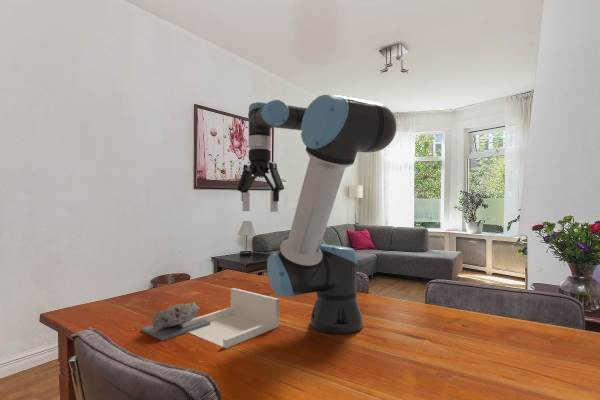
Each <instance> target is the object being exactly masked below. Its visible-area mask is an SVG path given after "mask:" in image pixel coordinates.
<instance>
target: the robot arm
mask: <svg viewBox="0 0 600 400" xmlns="http://www.w3.org/2000/svg"><path fill="white" fill-rule="evenodd" d="M247 115H248V116H247V117H248V149H249V150H248V160H249V162H250V164H243V167H242V173H241V176H240V179H239V182H238V185H237V188H236V190H237V191H238V192H240V193H241V202H242V205H241V206H242V207H241V208H242V212H250V211H251V210H250V205H251V204H250V199H251V198H250V191H249V190H250V189H251V187H252V185H253V183H254V182H255V180H256V179H257V178H260V177H262V178H264V180H265V181H266V182H267V184H268V186H269V188H270V190H271V191H270V198H269V199H270V200H269V201H270V203H269V205H270V206H269V207H270V208H269V209H270V210H269V211H270V212H271V213H273V212H274V213H277V212H278V211H279V210H278V209H279V208H278V206H279V205H278V204H279V201H280V191H282V190H284V189H285V186H284V184H283V182H282V179H281V176H280V173H279V171H278V166H277V162H273V161H271V156H272V155H271V150H270V149H271V137H272V136H271V134H272V133H271V131H272V129H273V128H274V129H275V128H276V129H285V130H291V131H295V130H296V131H301V132H300V137H301V141H302V143H303V145H305V152H306V154H307V156H308V157H309V160H308V164H307V168H306V171H305V175H304V180H303V182H302V186H301V190H300V194H299V198H298V201H297V205H296V209H295V213H294V215H293V220H292V224H291V226H290V231H289V234H288V238H287V239H284V240H283V241H282V242H281V244H280V246H279V249H278V252H274V253H271V254H270V255H268V258H267V263H266V266H267V267H266V270H267V276H268V280H269V284H270V287H271V289H272V291H273V292H274V294H276V296H279V297H282V298H283V297H295V296H301V295H308V294H313V293H316V298H315V303H314V304H313V305H314V306H313V309H312V311H311V314H310V325H311V327H312V328H313V329H314V330H317V331H319V332H323V333H327V334H336V335H341V334H342V335H343V334H345V335H346V334H352V333H355V332H358V331H360V330H361V329H362V328H363V327H364V326H363V324H364V323H363V316H362V313H361V308H360V306H359V301H358V299H357V297H358V296H357V293H358V292H357V291H358V290H357V285H358V284H357V270H358V269H357V266H358V260H357V252H356V250H355V249H354V248H352V247H346V246H342V245H341V246H340V245H335V244H333V245H332V244H325V243H324V244H323V243H322V242H323V238H324V237H325V233H326V229H327V225H328V223H329V220H330V217H331V214H332V211H333V207H334V204H335V201H336V198H337V195H338V192H339V189H340V186H341V182H342V179H343V176H344V173H345V170H346V168H348V167H350V166H353V165H354V163H355V160H356V157H357V155H358V153H375V152H379V151H383V150H385V148H387V147H389V145H390V144H392V142H393V141H394V138H395V136H396V133H397V121H396V117H395V115H394V113H393V112H392V111H391V109H389V108H388V107H387V106H386V105H383V104H381V103H380V102H376V101H368V100H365V99H358V98H353V97H347V96H344V95H339V94H322V95H319V96H317V97H315V99H314V100H312V101H311V102H310V103H309V105H308V106H307V107H301V106H296V105H289V104H286V103H285V102H283V100H281V99H273V100H271V101H268V102H266V103H265V102H253V103H251V104H249V105H248V113H247Z"/></svg>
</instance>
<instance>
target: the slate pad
mask: <svg viewBox="0 0 600 400" xmlns="http://www.w3.org/2000/svg"><path fill="white" fill-rule="evenodd" d="M197 317H198V316H196V315H195V316H194V317H192V318H189V319H188V320H190V319H193V318H197ZM185 321H187V320H185ZM152 325H153V324H151V325H147V326H144V327H141V332H142V333H144V334H145V333H146V335H150V336H152V337H153V338H156V339H158V340H159V341H165V340H170V339H171V338H174V337H178V336H181V335H184V334H186V333H188V332H190V331H193V330H196V329H199V328H202V327H205V326H208V325H210V322H209V321H206V320H205V321H202V322H199V323H196V324H193V325H189V326H186V327H181V324H178V325H174V326H170V327H160V328H159V327H153V326H152Z"/></svg>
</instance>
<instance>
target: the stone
mask: <svg viewBox="0 0 600 400" xmlns="http://www.w3.org/2000/svg"><path fill="white" fill-rule="evenodd" d="M200 309H201V308H200V307H199V306H198V305H197V304H196V302H193V301H192V302H187V303H183V304H175V305H172V306H170V307H169V308H167V309H165V310H160V311H155V312H154V313H153V315H152V316H153V317H152V322H151V323H152V324H151V325H152V326H153V327H159V328H160V327H170V326H174V325H178V324H181V323H182V322H184V321H185V320H188V319H189V318H192V317H194V316H195V317H196V315H197V314H198V313H199V311H200Z"/></svg>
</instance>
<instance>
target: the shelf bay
mask: <svg viewBox="0 0 600 400" xmlns="http://www.w3.org/2000/svg"><path fill="white" fill-rule="evenodd" d="M196 317H197V318H193V319H190V320H187V321H184V322H182V323H181V327H186V326H189V325H193V324H196V323H199V322H202V321H205V320H206V321H209V322H210V325H208V326H205V327H202V328H199V329H196V330H193V331H190V332H187V333H188V334H190V335H193V336H195V337H198V338H200V339H202V340H205V341H207V342H210V343H212V344H213V345H217V346H219V347H222V348H224V349H229V348H231V347H234V346H236V345H238V344H241V343H242V342H245V341H248V340H250V339H252V338H254V337H255V338H256V337H258V336H260V335H262V334H265V333H268V332H269V331H272V330H275V329H277V328H279V327H280V298H277V297H273V296H268V295H264V294H261V293H256V292H252V291H249V290H244V289H239V288H235V287H231V288H230V307H227V308H224V309H220V310H217V311H213V312H210V313H206V314H204V315H201V316H196Z"/></svg>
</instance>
